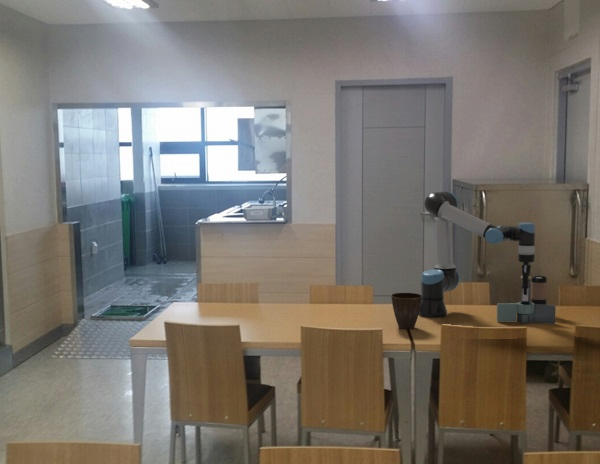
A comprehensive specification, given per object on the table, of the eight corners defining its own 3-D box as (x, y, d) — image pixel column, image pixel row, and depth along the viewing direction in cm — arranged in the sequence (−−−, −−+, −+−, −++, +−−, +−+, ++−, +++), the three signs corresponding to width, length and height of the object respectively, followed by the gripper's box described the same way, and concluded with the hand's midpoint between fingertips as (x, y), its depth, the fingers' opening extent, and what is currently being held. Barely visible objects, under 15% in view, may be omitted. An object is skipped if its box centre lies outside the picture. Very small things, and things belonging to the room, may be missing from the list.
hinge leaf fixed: (516, 322, 337) (516, 304, 336) (517, 319, 345) (518, 301, 344) (554, 325, 330) (555, 307, 329) (555, 322, 338) (555, 303, 337)
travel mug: (547, 316, 350) (547, 278, 348) (531, 316, 352) (532, 278, 350) (544, 313, 358) (545, 276, 356) (529, 312, 359) (530, 275, 357)
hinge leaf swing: (531, 319, 343) (531, 301, 342) (535, 323, 335) (536, 305, 334) (495, 319, 344) (495, 302, 343) (499, 323, 336) (499, 305, 335)
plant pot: (418, 323, 339) (418, 292, 338) (424, 330, 324) (425, 298, 323) (389, 324, 339) (389, 292, 337) (393, 331, 324) (393, 298, 322)
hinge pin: (519, 308, 337) (520, 277, 336) (520, 306, 342) (521, 275, 340) (530, 309, 335) (531, 277, 334) (531, 307, 340) (531, 275, 338)
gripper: (533, 256, 327) (532, 303, 329) (535, 251, 342) (534, 297, 345) (516, 255, 330) (516, 302, 332) (520, 251, 345) (519, 296, 348)
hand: (525, 300), depth 338 cm, fingers closed on hinge pin, 4 cm apart
